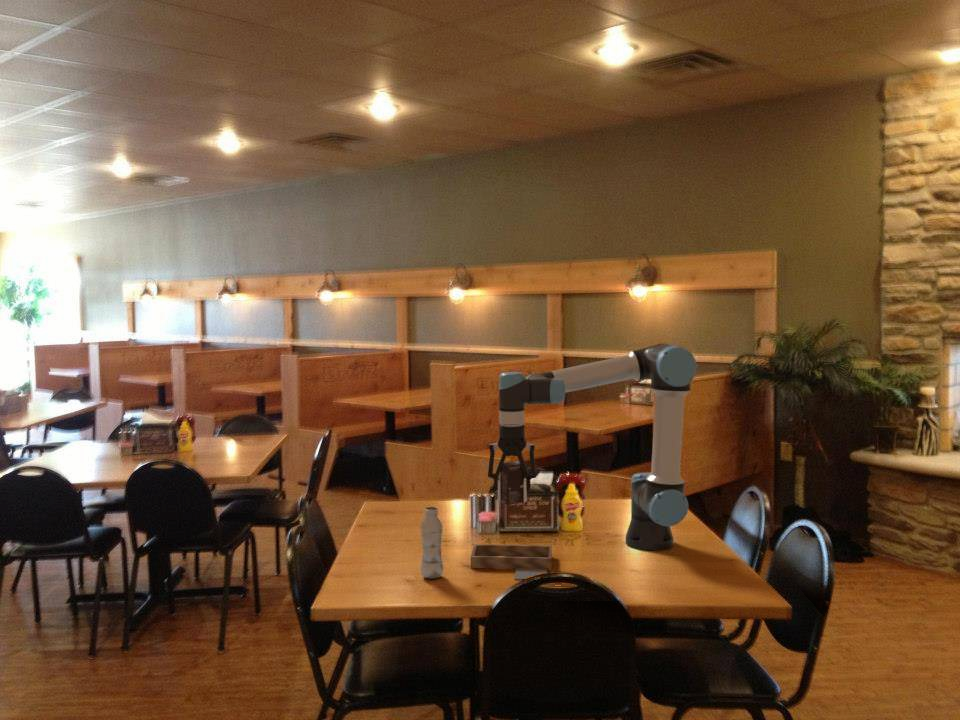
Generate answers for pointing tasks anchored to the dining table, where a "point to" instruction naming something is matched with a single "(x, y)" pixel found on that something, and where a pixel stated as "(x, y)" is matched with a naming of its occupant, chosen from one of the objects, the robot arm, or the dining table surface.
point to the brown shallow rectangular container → (511, 556)
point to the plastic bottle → (431, 544)
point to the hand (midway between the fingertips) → (512, 500)
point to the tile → (527, 572)
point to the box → (512, 483)
